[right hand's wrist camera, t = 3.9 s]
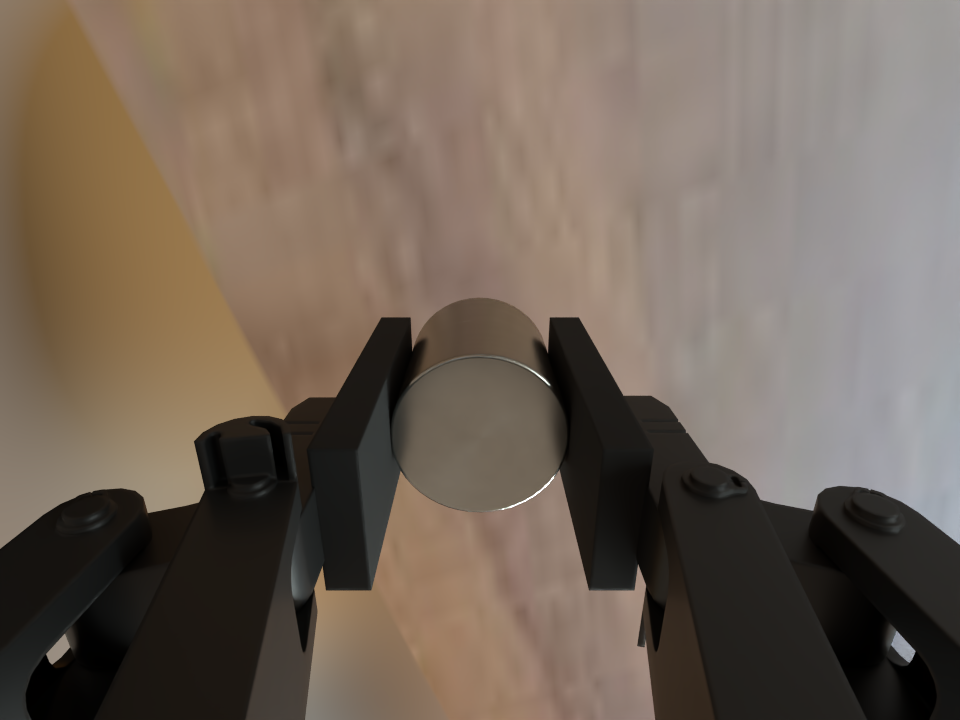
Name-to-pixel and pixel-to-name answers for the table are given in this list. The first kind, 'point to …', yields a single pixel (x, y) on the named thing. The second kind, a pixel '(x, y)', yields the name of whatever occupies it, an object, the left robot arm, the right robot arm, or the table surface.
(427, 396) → the canister
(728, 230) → the table surface
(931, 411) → the table surface
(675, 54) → the table surface
